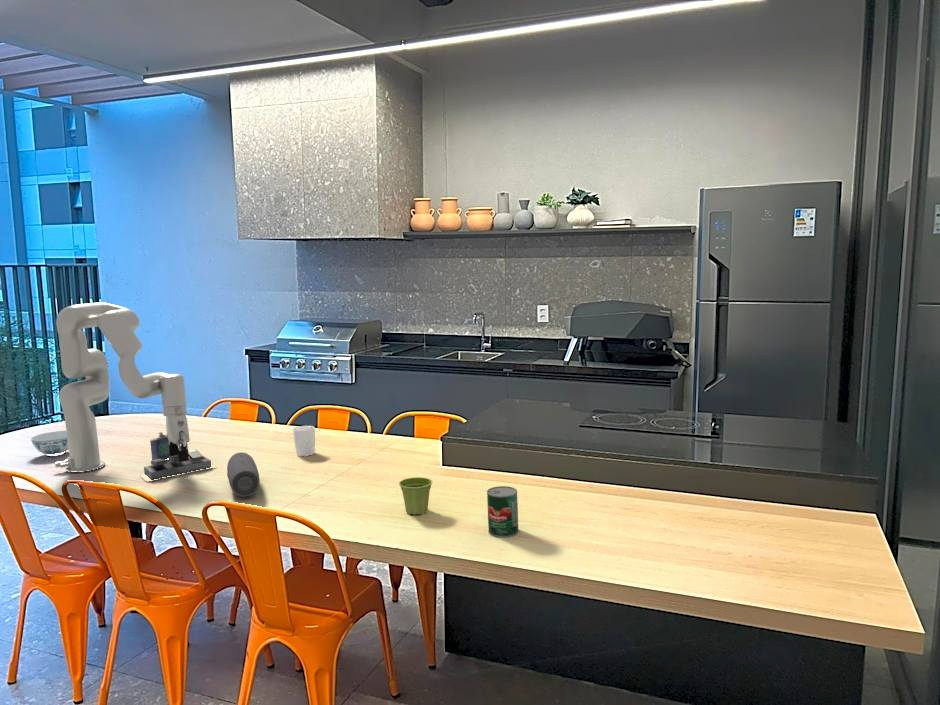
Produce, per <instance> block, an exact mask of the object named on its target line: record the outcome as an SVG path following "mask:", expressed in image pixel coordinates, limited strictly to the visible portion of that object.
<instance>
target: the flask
mask: <svg viewBox="0 0 940 705" xmlns="http://www.w3.org/2000/svg"><path fill="white" fill-rule="evenodd" d="M157 435H158V437H156V438H152V439H150V442H149V443H150V452H151V461H153V460H158V459H167V458H169V457H170V452H169V440H168V437H167V434H163V432H162V431H160V432H159V433H157Z"/></svg>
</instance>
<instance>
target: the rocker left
mask: <svg viewBox="0 0 940 705" xmlns="http://www.w3.org/2000/svg"><path fill="white" fill-rule="evenodd" d="M168 462H169V461H168V460H165V459H158V460H153V461H152V460H151V461H150V464H151V465H156V466H157V465H162V464H167V463H168ZM151 465H150V466H151Z"/></svg>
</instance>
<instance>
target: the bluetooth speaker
mask: <svg viewBox="0 0 940 705" xmlns="http://www.w3.org/2000/svg"><path fill="white" fill-rule="evenodd" d="M226 466H227V467H226V469H227V471H226V476H227V479H228V483H229V487H230V489H231V491H232V492H233V493H234V494H235V495H237V496H238V497H243V498H246V497H250V496H252V495H254V494H255V493H257V491H258V489H259V487H260V474H259V470H258V467H257V464H256V462H255V460H254V458H253V457H252V456H251V455H250V454H248V453H247V452H242V451H241V452H237V453H234V454H233V455H232V456H231V457H230V458H229V459H228V461H227V465H226Z"/></svg>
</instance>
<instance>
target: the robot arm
mask: <svg viewBox="0 0 940 705" xmlns="http://www.w3.org/2000/svg"><path fill="white" fill-rule="evenodd" d="M55 323H56V330H57V334H58V340H59V350H60V361H61V362H60V363H61V372H62V375H64V376H65V377H66V378H67V379H74V380H75V379H81V378H85V379H83V380H78V381H74V382H70V383H68V384H66V385H64V386H62V387H61V389H60V390H59V394H58V399H59V403H60V406H61V409H62V411H63V416H64V423H65V428H66V430H65V431H67V440H68V448H69V449H68V455H69V456H67V458H66V459H64V460H63V461H56V462H54V466H55V468H56V469H57V468H65V471H66V470H68V471H87V470H93V469H97V468H100V467H102V466H104V465H105V466H106V462H105V460H102V459H101V457H100V456H101V454H100V448H99V439H98V438H99V437H98V431H97V428H98V427H97V421H96V416H95V414H94V412H93V411H92V410H91V408H90V407H91V406H94V405H98V404H101V403H102V402H105V401H106V400H107V399H108V397H109V396H110V378H109V377H110V376H109V366H108V364H109V363H108V360H107V359H108V358H107V356H105V353H104V352H103V351H101V350H99V349H97V348H88V339H87V337H86V333H84V331H83V329H87V328H88V329H89V328H97V327H98V328H99V330H100V332H101V333H102V334H103V336H104V337H105V339H106V341H107V342H108V343H109V344H110V346H111V348H112V349H113V351H114V352H115V354H116V355H117V358H118V364H117V366H118V373H119V377H120V379H121V381H122V382H123V384H124V386H125V388H126V389H127V390H128V391H129V392H130V393H131V394H132V395H133V397H135V398H137V399H146V398H150V397H154V396H158V395H161V404H162V415H163V416H164V417H165V424H166V435H167V437H168V440H169V452H170V456H176V455H178V459H179V462H183V461H188V460H189V456H188V451H189V446H188V443H189V442H190V441H191V439H190V431H189V426H188V425H189V424H188V418H187V416H186V414H188V411H187V399H186V398H187V397H186V388H185V387H186V385H185V378H184V375H183V374H181V373H165V372H162V371H161V372H159V371H157V372H152V373H149V374H145V375H142V374H141V372H140V371H139V369H138V368H137V365H136V362H135V358H136V355H137V354H138V353H140V351H141V350H142V348H143V343H142V342H141V341H140V339H139V338H138V336H137V335H136V333H135V331H137V330H138V328H139V326H140V319H139V316H138V315H137V313H136V312H135V311H134V310H132V309H130V308H127V307H123V306H119V305H115V304H111V303H107V302H91V303H90V302H89V303H79V304H77V303H76V304H73V305H72V304H71V305H69V306H66V307H64V308H63V309H61V310H60V311H59V313H58V314H57V317H56V322H55ZM105 466H104V467H105ZM102 468H103V467H102ZM100 469H101V468H100ZM97 470H98V469H97ZM93 471H94V470H93Z"/></svg>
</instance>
